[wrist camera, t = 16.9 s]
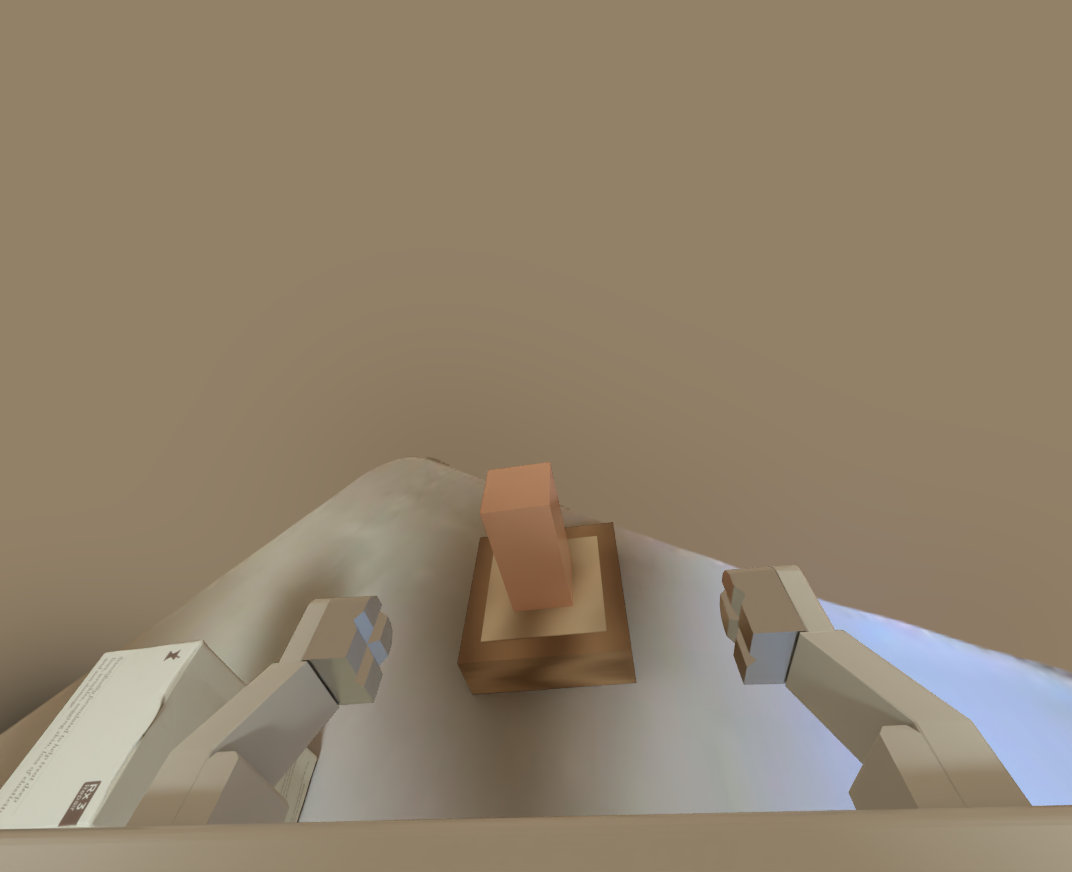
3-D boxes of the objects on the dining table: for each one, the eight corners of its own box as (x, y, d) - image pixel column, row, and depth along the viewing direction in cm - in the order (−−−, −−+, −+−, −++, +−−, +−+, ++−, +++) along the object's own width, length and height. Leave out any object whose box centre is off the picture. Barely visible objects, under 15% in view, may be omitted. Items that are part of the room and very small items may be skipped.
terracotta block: (513, 611, 35) (479, 513, 30) (517, 564, 39) (488, 470, 34) (573, 605, 35) (549, 504, 29) (571, 559, 38) (550, 461, 33)
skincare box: (245, 766, 34) (104, 643, 26) (325, 756, 33) (206, 629, 25) (171, 934, 27) (-56, 837, 19) (271, 925, 26) (81, 822, 18)
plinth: (472, 694, 35) (457, 662, 33) (490, 567, 45) (479, 536, 43) (636, 682, 33) (631, 648, 31) (617, 553, 43) (612, 521, 41)
